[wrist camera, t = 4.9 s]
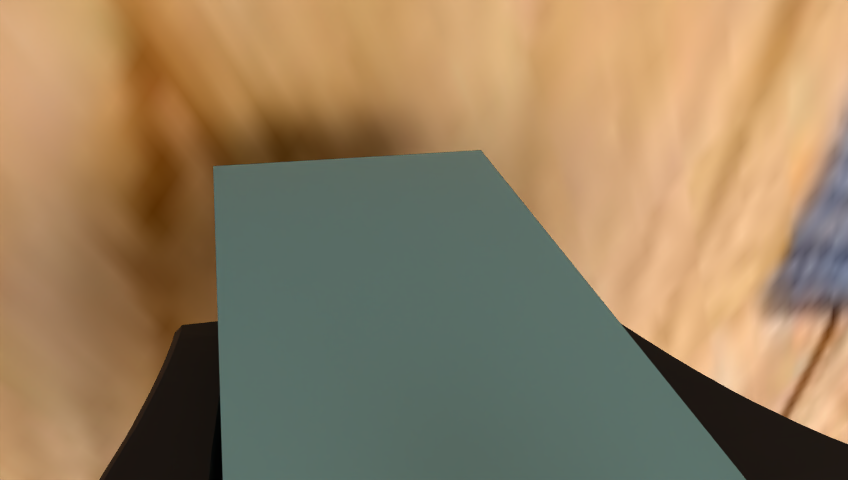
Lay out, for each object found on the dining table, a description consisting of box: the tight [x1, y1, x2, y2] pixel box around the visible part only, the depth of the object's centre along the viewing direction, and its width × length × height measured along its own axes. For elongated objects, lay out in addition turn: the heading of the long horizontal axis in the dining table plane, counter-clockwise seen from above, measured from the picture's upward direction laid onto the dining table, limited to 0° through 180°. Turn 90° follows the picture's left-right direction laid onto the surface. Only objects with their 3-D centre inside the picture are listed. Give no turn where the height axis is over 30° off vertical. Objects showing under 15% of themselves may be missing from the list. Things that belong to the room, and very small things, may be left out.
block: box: [213, 150, 746, 480], centre depth 10 cm, size 4×4×9 cm
